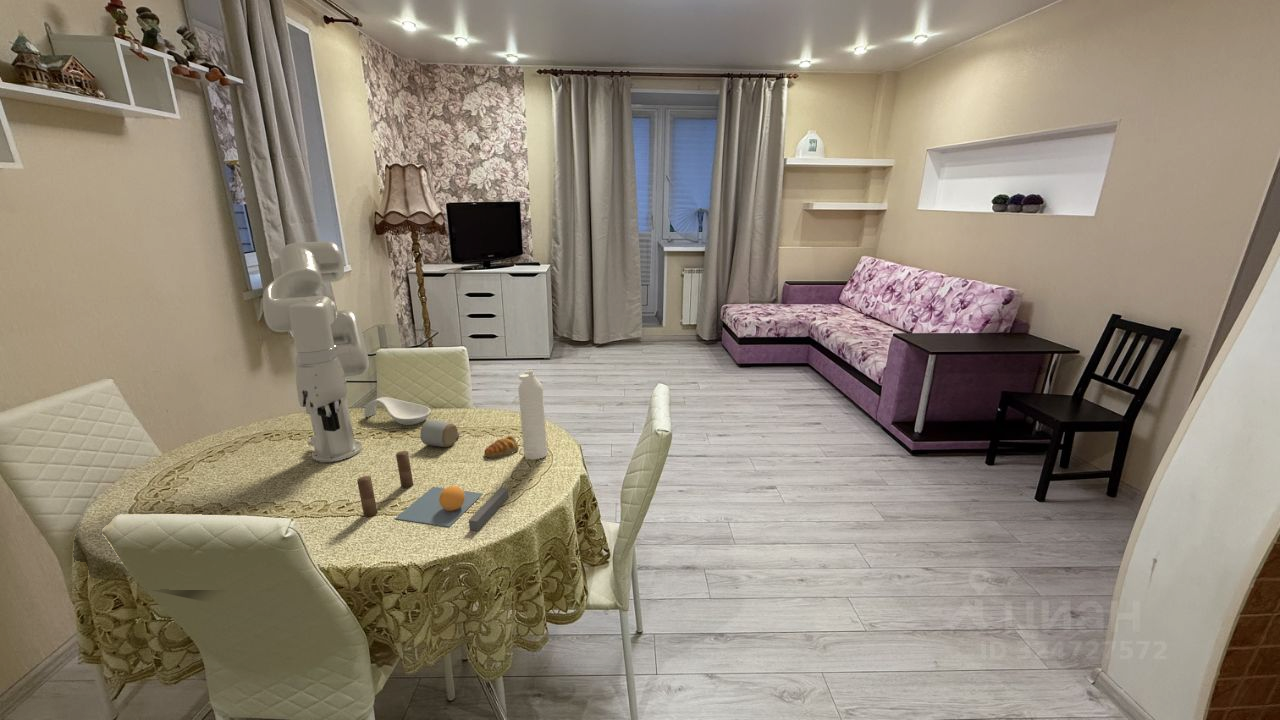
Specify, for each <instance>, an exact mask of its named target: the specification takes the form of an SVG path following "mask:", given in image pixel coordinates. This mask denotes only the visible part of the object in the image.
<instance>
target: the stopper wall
mask: <svg viewBox="0 0 1280 720" xmlns="http://www.w3.org/2000/svg"><path fill="white" fill-rule="evenodd" d="M509 498H510V496H509V488H508V487H499V488H498V489H497V490H496V491H495V492H494V493H493V495H491V496H490V497H489V498H488V499H487V500H486V501H485V503H483V505H482V506H480V508H479V509H478V510H477V511H476V512H475V513H474V514H473V515H472V516H471V517H470V518H469V519H468V526H469V527H468V528H469V531H473V532H479V531H480V530H481V529H482V528H483V527H484V526H485V524H486V523H487V522H488V521H489V520H490V519H491V517H493V516H494V514H495V513H496V512H497V511H498V510H499V509H500V508H501V507H502V506H503V504H504V503H505V502H507V500H509Z"/></svg>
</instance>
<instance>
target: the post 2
mask: <svg viewBox="0 0 1280 720" xmlns="http://www.w3.org/2000/svg"><path fill="white" fill-rule="evenodd" d="M395 457H396V463H397V464H396V465H397V470H398V475H399V481H400V486H401V487H400V488H401V489H409V488H412V487H413V486H414V481H413V480H414V479H413V473H412V468H411V461H410V455H409V451H407V450H400V451H397V452H396V453H395Z"/></svg>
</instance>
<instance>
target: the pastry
mask: <svg viewBox="0 0 1280 720" xmlns="http://www.w3.org/2000/svg"><path fill="white" fill-rule="evenodd" d="M519 449H520V446H519V444H518V442H517V440H516V438H515V437H513V436H512V435H510V436H506V437H503V438H500V439H497V440H495V442H493V443H492V444H490V445H489V446H487V447H486V448H485V449H484V452H483V454H484V456H485V457H487V458H490V459H494V457H495V458H497V457H498V458H499V456H500V457H504V456H505V457H506V456H508V455H511V454H513V453H515V452H514V451H516V452H517V451H519ZM512 452H513V453H512Z"/></svg>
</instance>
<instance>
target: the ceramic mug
mask: <svg viewBox="0 0 1280 720" xmlns="http://www.w3.org/2000/svg"><path fill="white" fill-rule="evenodd" d="M419 434H420V441H421V442H422V443H423V444H424V445H427V446H432V447H433V446H434V447H441V448H450V447H451V446H453V445H454V444H455V442H456V441H457V438H460V432H459V431H458V428H457V426H456V425H455V424H454V423H452V422H449V421H444V420H439V419H434V418H429V419H426V420H425V422H424V423H423V424H422V426H421V429H420V433H419Z"/></svg>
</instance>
